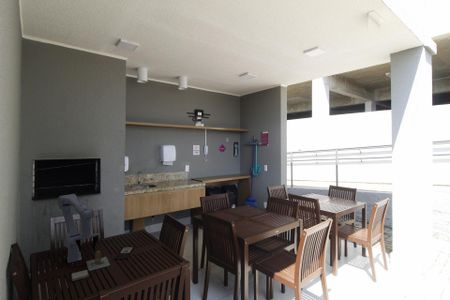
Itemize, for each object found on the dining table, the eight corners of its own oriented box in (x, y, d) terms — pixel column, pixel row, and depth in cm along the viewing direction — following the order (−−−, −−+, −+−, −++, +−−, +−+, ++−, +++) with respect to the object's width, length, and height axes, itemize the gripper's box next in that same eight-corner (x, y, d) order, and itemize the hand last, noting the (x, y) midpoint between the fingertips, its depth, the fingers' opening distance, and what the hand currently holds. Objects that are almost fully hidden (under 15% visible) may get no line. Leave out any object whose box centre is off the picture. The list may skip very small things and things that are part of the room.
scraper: (91, 263, 158) (91, 252, 158) (103, 260, 162) (103, 249, 162) (92, 266, 154) (92, 254, 154) (104, 263, 159) (104, 251, 158)
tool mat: (86, 262, 160) (86, 261, 160) (106, 257, 167) (106, 256, 167) (88, 271, 149) (89, 270, 149) (110, 265, 156) (110, 265, 156)
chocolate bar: (113, 259, 164) (122, 247, 182) (113, 260, 164) (122, 248, 182) (127, 258, 165) (134, 247, 183) (127, 259, 165) (134, 248, 183)
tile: (71, 273, 144) (72, 279, 138) (87, 269, 149) (88, 274, 143) (71, 276, 144) (72, 282, 138) (87, 272, 149) (88, 277, 143)
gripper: (74, 233, 148) (74, 255, 148) (100, 228, 156) (100, 249, 157) (73, 229, 154) (73, 250, 154) (98, 225, 162) (98, 245, 163)
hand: (86, 249), depth 156 cm, fingers open, 7 cm apart
